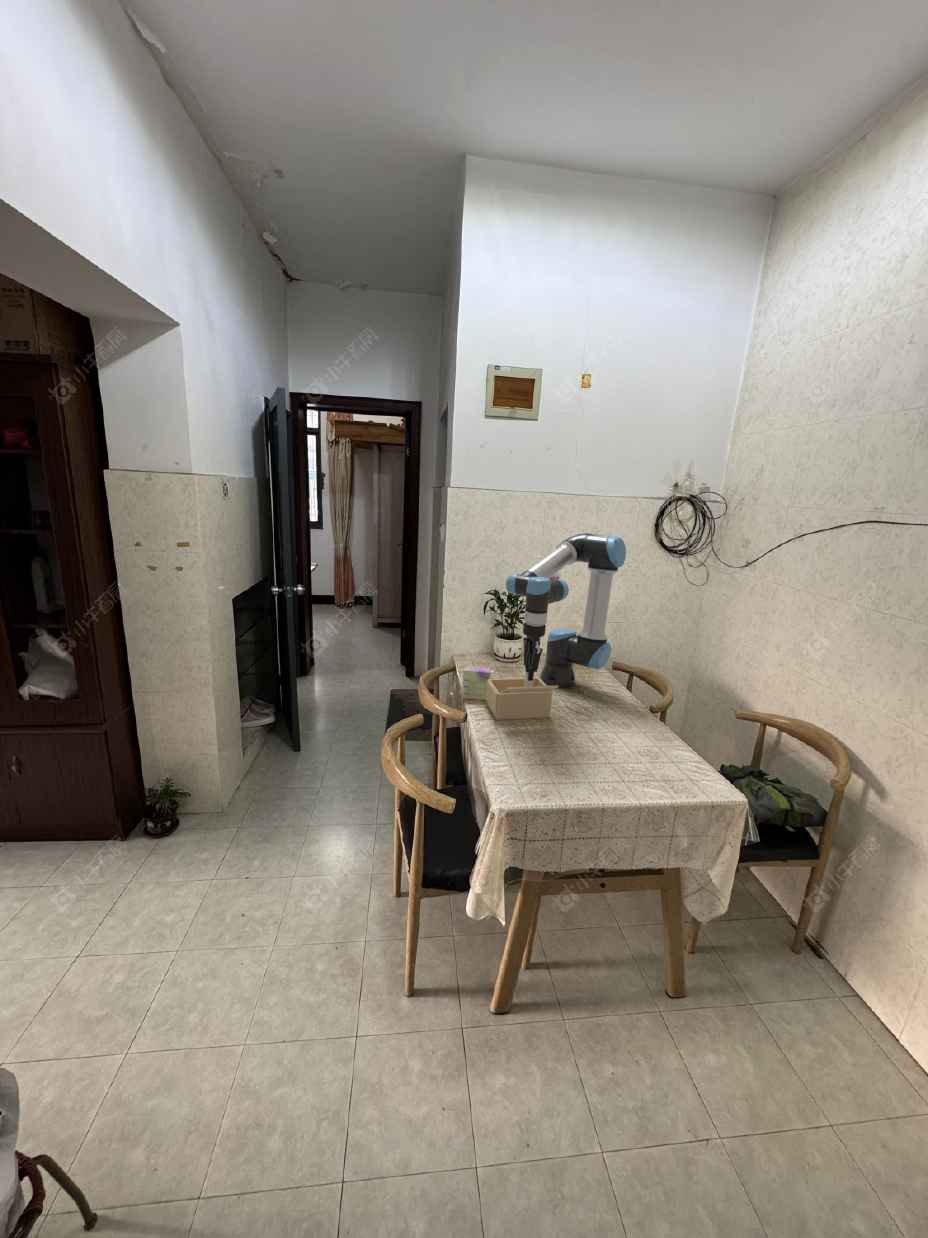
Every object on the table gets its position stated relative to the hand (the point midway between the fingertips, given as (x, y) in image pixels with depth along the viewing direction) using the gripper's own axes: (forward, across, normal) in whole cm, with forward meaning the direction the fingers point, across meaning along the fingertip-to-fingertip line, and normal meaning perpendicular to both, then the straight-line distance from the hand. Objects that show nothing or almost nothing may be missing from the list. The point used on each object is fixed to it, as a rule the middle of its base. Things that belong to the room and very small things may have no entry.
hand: (528, 687), depth 175 cm
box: (+14, -24, -13) cm, 30 cm away
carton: (+14, -10, 0) cm, 17 cm away
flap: (0, +1, 0) cm, 1 cm away
